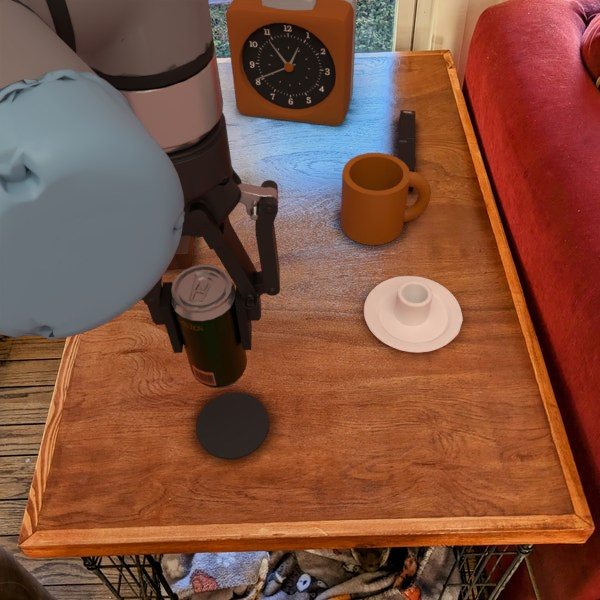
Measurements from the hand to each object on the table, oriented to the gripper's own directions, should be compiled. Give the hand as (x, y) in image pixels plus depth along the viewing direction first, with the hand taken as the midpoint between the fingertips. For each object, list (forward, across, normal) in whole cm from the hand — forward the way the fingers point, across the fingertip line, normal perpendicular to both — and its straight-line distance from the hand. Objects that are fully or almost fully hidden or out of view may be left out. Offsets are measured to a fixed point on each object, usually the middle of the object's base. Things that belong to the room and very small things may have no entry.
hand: (213, 338), depth 56 cm
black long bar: (+17, -25, -45) cm, 55 cm away
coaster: (+16, 0, 0) cm, 16 cm away
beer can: (+5, 0, 0) cm, 5 cm away
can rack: (+16, +11, -35) cm, 40 cm away
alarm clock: (+17, -8, -60) cm, 63 cm away
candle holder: (+17, -22, -14) cm, 31 cm away
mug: (+17, -20, -31) cm, 40 cm away
